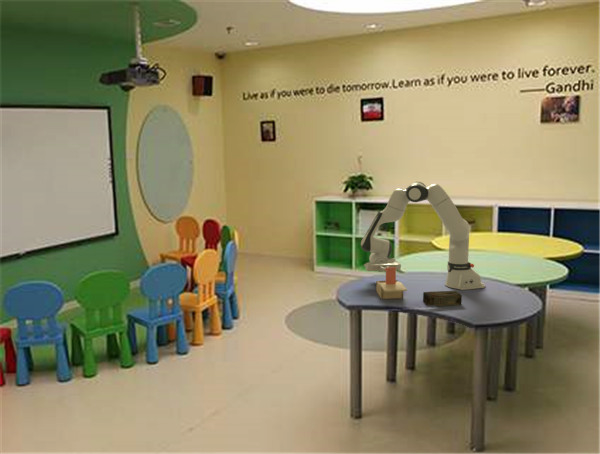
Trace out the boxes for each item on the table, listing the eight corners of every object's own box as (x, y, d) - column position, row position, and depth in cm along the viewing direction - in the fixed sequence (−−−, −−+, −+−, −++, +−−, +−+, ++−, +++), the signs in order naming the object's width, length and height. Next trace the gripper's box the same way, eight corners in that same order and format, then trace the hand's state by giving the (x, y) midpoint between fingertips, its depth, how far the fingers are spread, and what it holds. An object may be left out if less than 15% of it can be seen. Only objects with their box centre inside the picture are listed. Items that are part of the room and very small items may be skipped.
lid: (379, 284, 309) (379, 267, 307) (400, 283, 310) (400, 266, 308) (384, 291, 295) (384, 273, 293) (406, 290, 296) (407, 273, 294)
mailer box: (376, 292, 318) (376, 280, 316) (397, 292, 318) (397, 280, 317) (381, 300, 304) (381, 288, 303) (403, 299, 305) (403, 287, 303)
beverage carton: (462, 305, 294) (462, 293, 293) (427, 307, 291) (427, 295, 290) (456, 300, 302) (456, 289, 300) (421, 303, 299) (422, 291, 298)
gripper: (363, 259, 330) (367, 265, 316) (397, 258, 331) (403, 263, 318) (363, 269, 331) (367, 275, 317) (397, 268, 333) (403, 274, 319)
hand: (385, 269), depth 318 cm, fingers closed
